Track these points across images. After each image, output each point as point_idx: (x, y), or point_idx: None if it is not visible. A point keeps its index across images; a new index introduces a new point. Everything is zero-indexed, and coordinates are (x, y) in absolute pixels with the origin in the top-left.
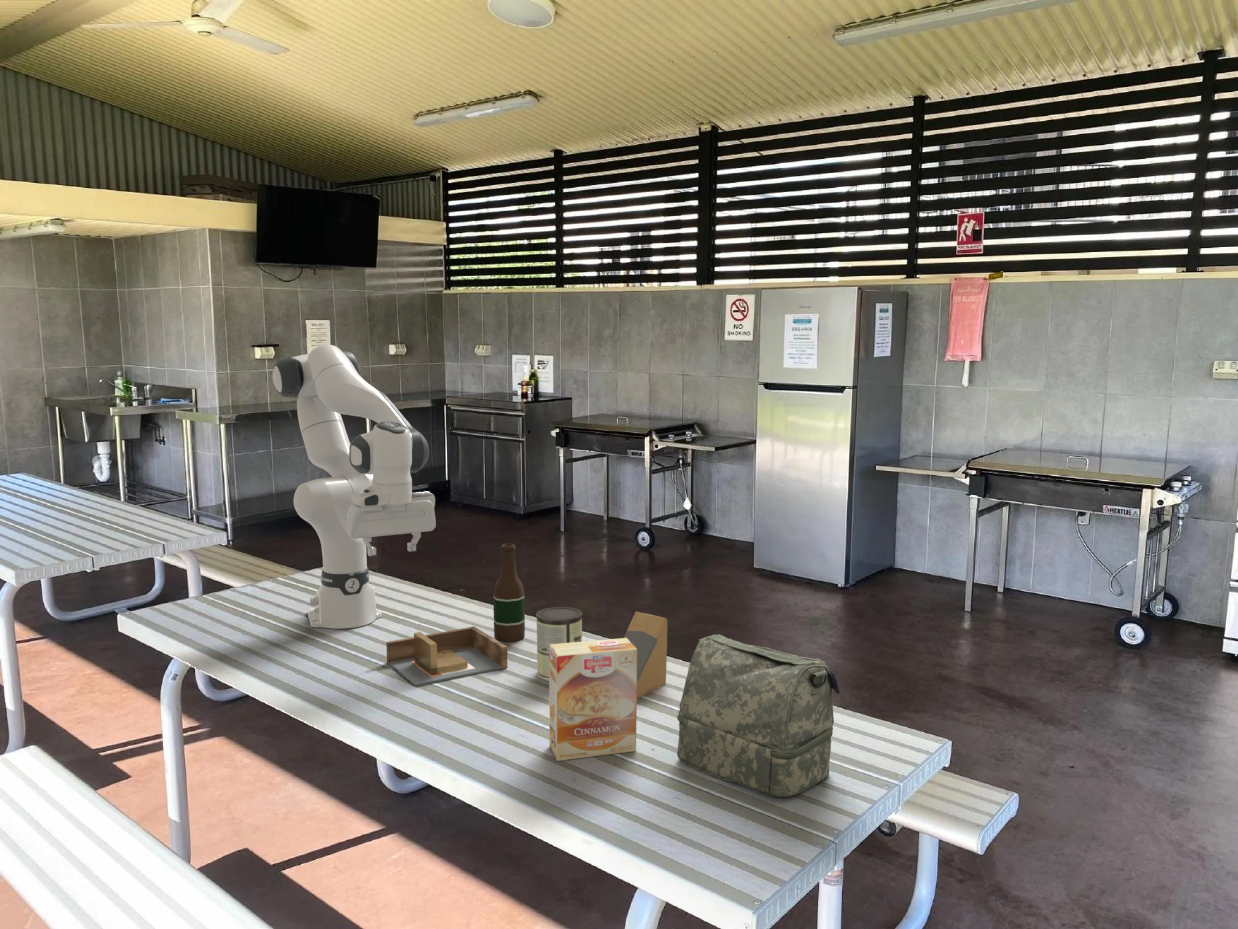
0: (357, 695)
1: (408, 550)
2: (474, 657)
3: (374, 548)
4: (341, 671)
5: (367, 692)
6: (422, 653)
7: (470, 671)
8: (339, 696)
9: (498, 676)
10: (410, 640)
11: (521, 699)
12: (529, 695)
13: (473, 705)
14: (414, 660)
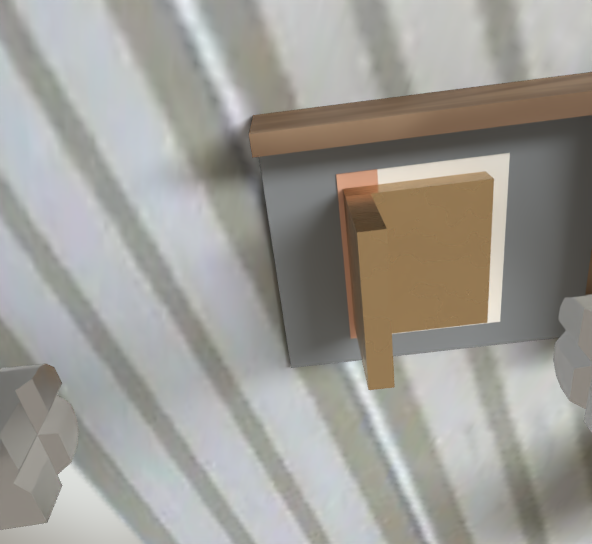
0: (124, 360)
1: (564, 323)
2: (551, 222)
3: (18, 526)
4: (77, 135)
5: (153, 351)
6: (355, 289)
7: (475, 336)
8: (72, 349)
9: (531, 378)
10: (355, 143)
11: (497, 515)
12: (525, 503)
13: (385, 507)
14: (350, 161)
